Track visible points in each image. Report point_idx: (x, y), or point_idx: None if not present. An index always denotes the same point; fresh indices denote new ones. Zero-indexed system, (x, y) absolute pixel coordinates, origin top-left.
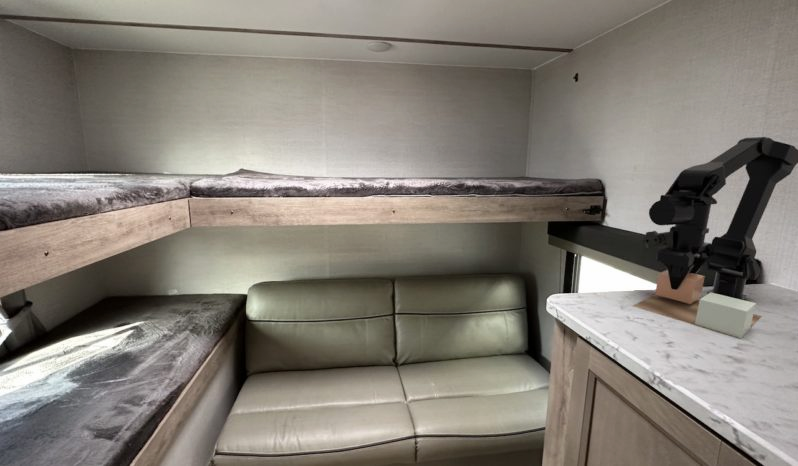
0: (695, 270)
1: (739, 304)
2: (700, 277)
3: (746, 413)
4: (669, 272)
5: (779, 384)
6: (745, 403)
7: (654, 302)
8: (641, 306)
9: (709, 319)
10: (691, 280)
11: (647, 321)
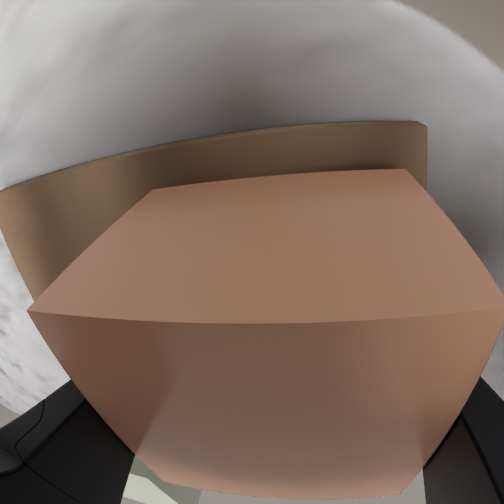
0: (427, 500)
1: (130, 494)
2: (319, 498)
3: (2, 395)
4: (21, 425)
5: None
6: (10, 397)
7: (95, 221)
8: (11, 220)
9: None
10: (161, 475)
11: (5, 264)
